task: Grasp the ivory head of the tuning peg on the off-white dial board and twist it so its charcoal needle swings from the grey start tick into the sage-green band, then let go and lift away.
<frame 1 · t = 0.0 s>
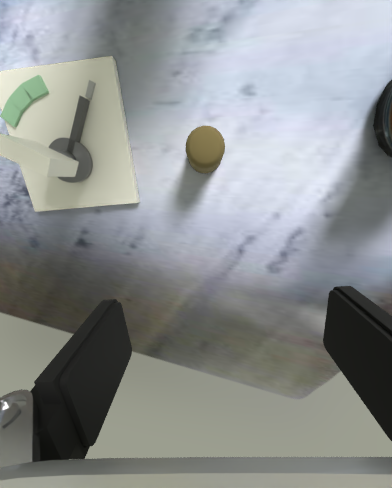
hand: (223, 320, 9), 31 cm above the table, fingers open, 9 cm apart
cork: (205, 155, 36), on the table
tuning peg: (55, 136, 29), point 7 cm above the table, hinge at 0.0°
dial board: (74, 144, 36), on the table
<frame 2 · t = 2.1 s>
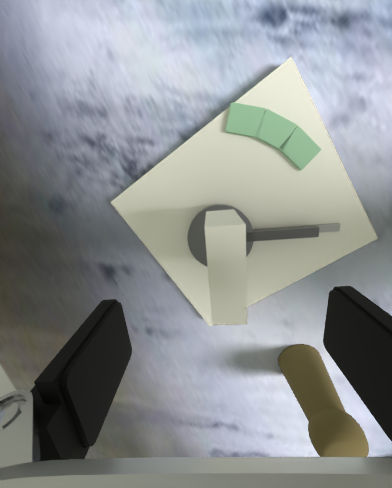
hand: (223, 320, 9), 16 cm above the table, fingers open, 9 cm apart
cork: (298, 359, 30), on the table
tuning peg: (260, 248, 18), point 7 cm above the table, hinge at 0.0°
dial board: (240, 217, 24), on the table
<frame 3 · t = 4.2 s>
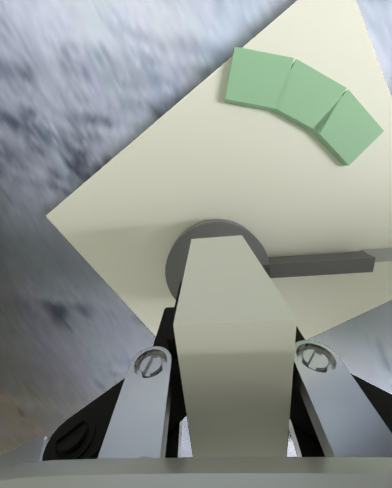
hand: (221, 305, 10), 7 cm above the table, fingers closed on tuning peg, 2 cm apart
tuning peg: (289, 306, 10), point 7 cm above the table, hinge at 0.0°, touching gripper
dial board: (246, 237, 16), on the table
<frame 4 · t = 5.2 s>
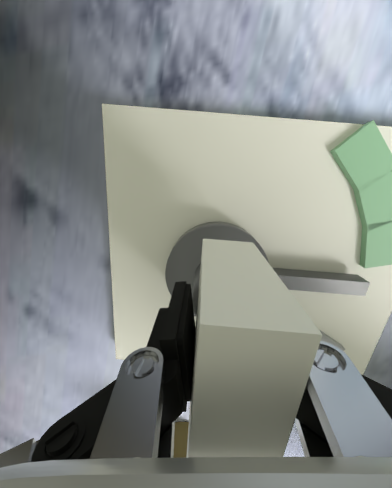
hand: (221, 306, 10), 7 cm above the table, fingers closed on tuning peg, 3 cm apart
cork: (185, 437, 24), on the table
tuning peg: (287, 318, 10), point 7 cm above the table, hinge at 30.6°, touching gripper
dial board: (251, 262, 17), on the table
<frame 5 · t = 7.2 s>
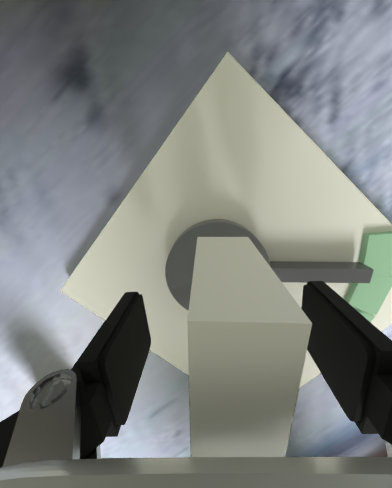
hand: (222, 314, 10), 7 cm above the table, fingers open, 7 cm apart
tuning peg: (289, 311, 10), point 7 cm above the table, hinge at 70.3°
dial board: (241, 278, 17), on the table
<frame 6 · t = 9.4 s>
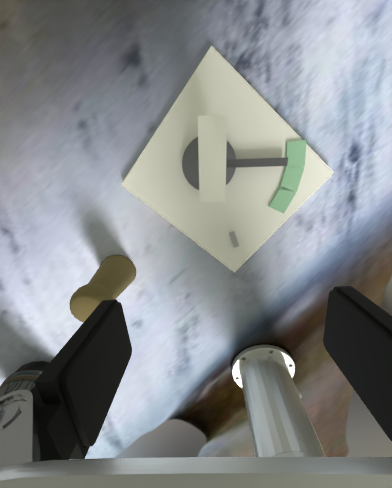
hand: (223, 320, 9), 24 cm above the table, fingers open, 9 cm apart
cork: (119, 270, 36), on the table
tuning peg: (239, 162, 22), point 7 cm above the table, hinge at 70.6°
beer stein: (46, 381, 46), on the table
dial board: (223, 178, 30), on the table
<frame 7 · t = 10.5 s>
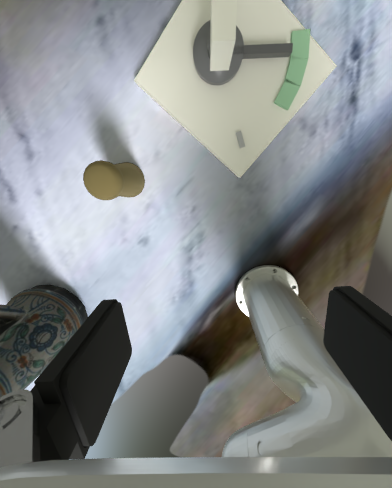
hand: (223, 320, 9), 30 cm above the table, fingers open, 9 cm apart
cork: (128, 180, 37), on the table
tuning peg: (247, 30, 24), point 7 cm above the table, hinge at 70.6°
beer stein: (51, 308, 46), on the table
dial board: (231, 78, 31), on the table
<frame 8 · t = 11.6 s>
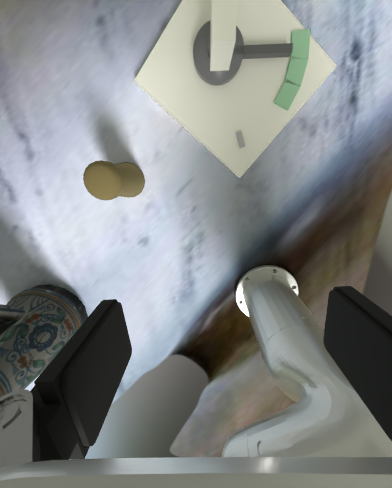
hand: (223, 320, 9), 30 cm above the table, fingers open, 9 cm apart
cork: (128, 180, 37), on the table
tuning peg: (248, 30, 24), point 7 cm above the table, hinge at 70.6°
beer stein: (51, 308, 46), on the table
dial board: (231, 78, 31), on the table
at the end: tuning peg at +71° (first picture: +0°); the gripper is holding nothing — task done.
